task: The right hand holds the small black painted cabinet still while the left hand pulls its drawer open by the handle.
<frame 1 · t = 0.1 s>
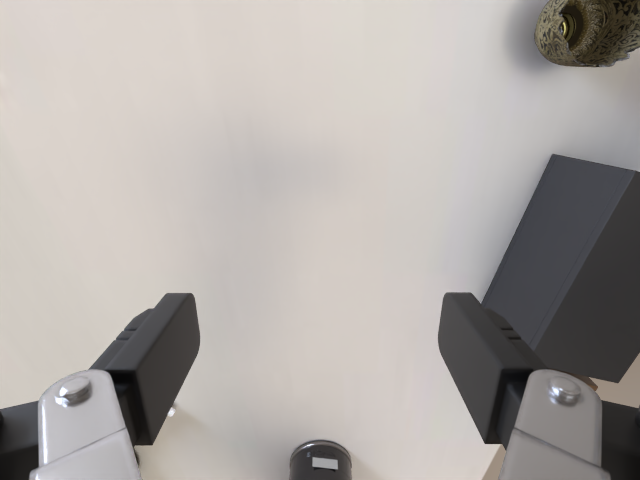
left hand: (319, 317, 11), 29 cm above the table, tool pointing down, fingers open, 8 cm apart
drawer: (556, 313, 39), point 5 cm above the table, slide at 1.5 cm
cabinet: (552, 245, 42), on the table
cup: (548, 33, 34), on the table
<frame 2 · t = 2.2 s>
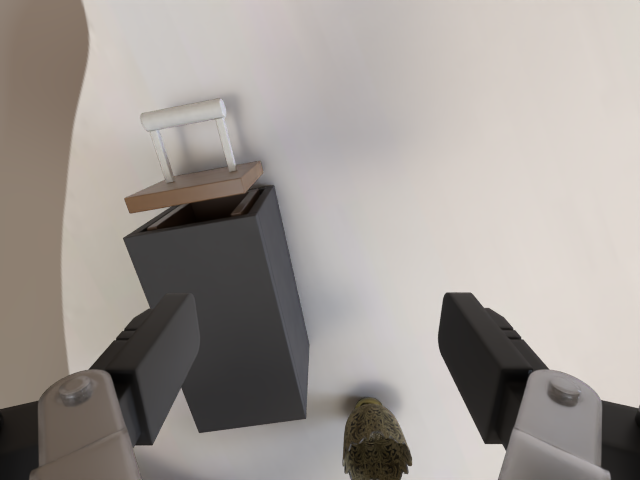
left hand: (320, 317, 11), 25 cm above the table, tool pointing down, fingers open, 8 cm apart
drawer: (221, 245, 32), point 5 cm above the table, slide at 1.5 cm
cabinet: (248, 278, 39), on the table
cup: (367, 404, 45), on the table
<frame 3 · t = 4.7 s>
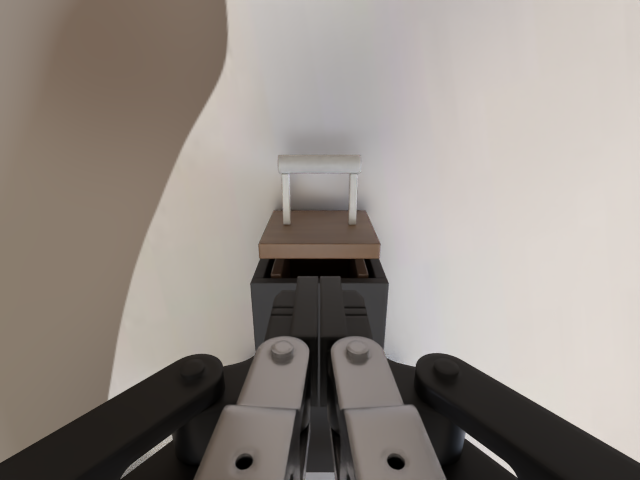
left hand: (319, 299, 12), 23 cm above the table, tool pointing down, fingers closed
drawer: (319, 291, 32), point 5 cm above the table, slide at 1.5 cm
cabinet: (319, 316, 39), on the table, touching right hand
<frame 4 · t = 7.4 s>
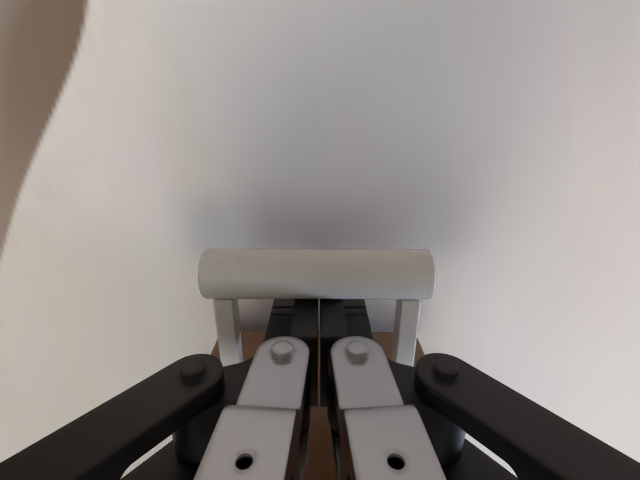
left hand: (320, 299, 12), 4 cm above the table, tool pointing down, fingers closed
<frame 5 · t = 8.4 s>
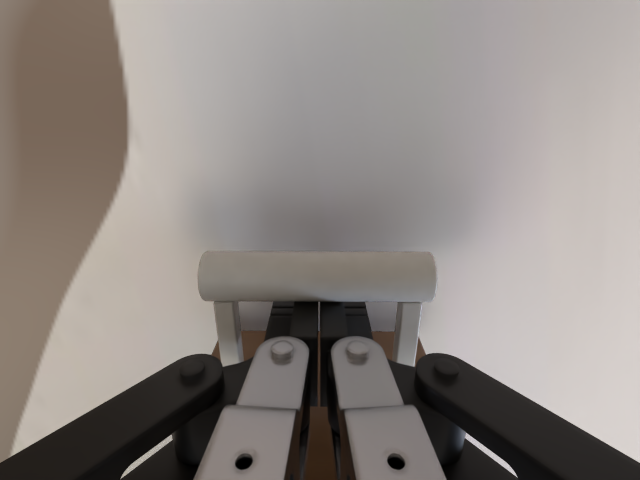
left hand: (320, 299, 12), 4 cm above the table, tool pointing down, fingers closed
when the right hand's fingers open (6 cm above the table, at t = 10.4 s): cabinet stays where it is, on the table.
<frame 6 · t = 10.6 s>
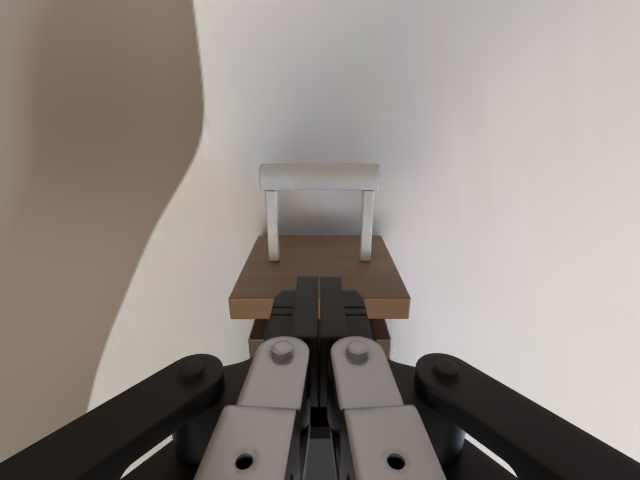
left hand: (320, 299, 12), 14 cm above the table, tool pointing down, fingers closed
drawer: (319, 347, 24), point 5 cm above the table, slide at 7.0 cm
cabinet: (320, 414, 33), on the table
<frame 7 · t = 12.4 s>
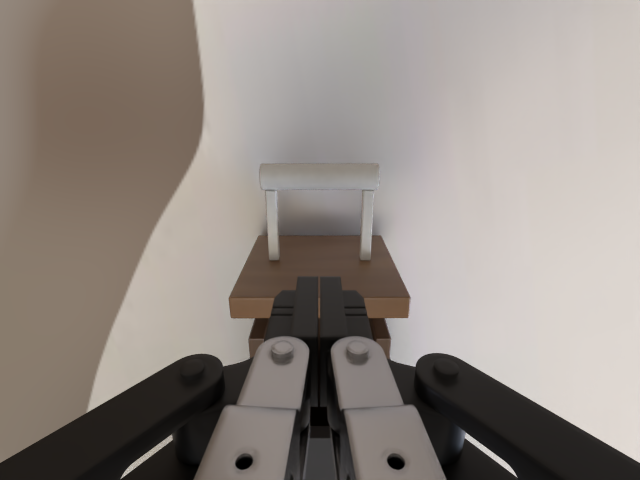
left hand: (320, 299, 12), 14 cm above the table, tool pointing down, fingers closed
drawer: (319, 347, 24), point 5 cm above the table, slide at 7.0 cm
cabinet: (320, 414, 33), on the table
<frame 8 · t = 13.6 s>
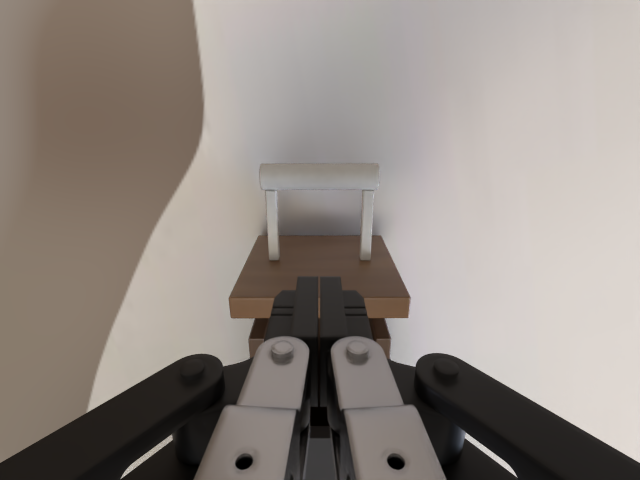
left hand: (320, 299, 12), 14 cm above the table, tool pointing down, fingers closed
drawer: (319, 347, 24), point 5 cm above the table, slide at 7.0 cm
cabinet: (320, 414, 33), on the table
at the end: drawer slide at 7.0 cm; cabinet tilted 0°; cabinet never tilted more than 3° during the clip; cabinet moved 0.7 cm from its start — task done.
